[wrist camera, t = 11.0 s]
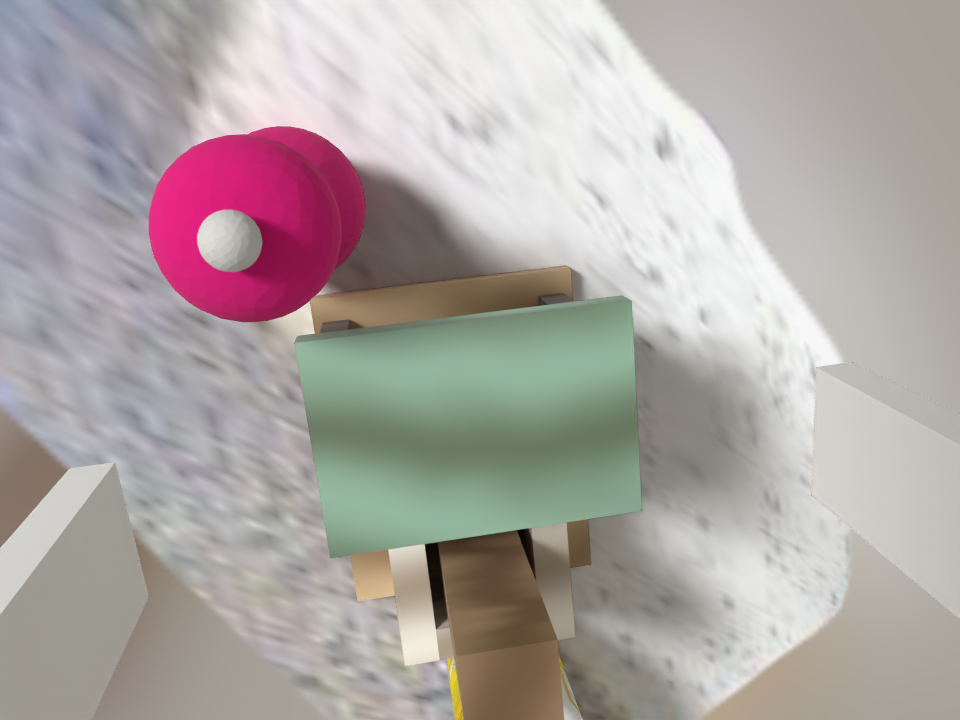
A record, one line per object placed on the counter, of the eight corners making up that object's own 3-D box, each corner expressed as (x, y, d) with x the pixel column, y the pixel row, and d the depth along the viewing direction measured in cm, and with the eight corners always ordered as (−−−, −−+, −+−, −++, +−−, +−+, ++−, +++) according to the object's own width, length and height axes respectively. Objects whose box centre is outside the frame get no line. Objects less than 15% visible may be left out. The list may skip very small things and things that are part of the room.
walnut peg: (438, 557, 46) (467, 742, 31) (430, 494, 45) (456, 656, 30) (506, 546, 46) (564, 725, 32) (499, 484, 45) (557, 639, 31)
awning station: (309, 287, 42) (280, 344, 29) (565, 256, 43) (644, 299, 31) (359, 599, 47) (353, 764, 34) (587, 563, 48) (662, 709, 36)
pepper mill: (373, 140, 40) (370, 128, 21) (358, 278, 42) (343, 383, 23) (228, 118, 39) (87, 86, 20) (219, 262, 41) (81, 357, 22)
